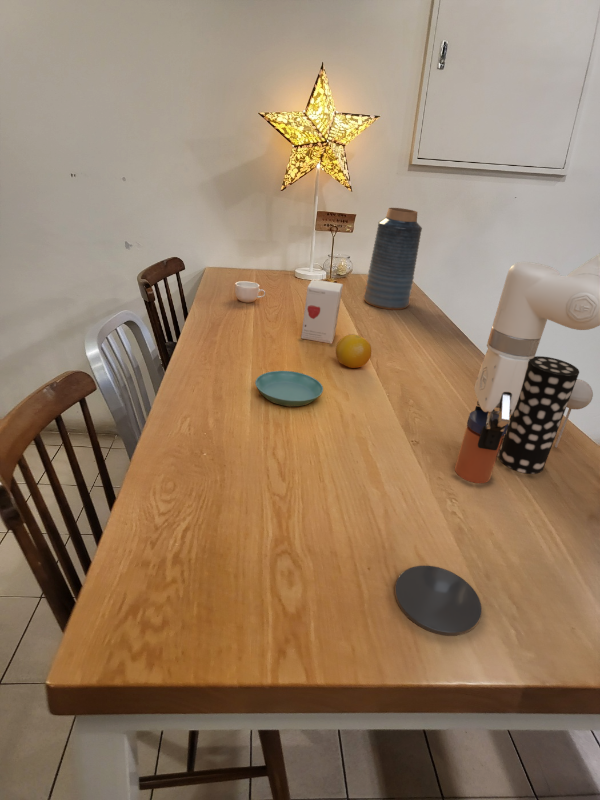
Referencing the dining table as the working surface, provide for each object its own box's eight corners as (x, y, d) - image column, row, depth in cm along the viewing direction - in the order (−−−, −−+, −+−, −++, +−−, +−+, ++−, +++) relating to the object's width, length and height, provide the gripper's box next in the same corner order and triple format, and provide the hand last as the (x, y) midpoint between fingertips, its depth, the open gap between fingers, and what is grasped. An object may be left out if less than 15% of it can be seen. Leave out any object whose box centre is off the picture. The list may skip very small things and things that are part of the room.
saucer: (294, 419, 108) (295, 407, 107) (240, 393, 116) (240, 382, 115) (334, 397, 119) (336, 386, 118) (283, 375, 127) (284, 365, 126)
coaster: (472, 576, 74) (473, 572, 74) (488, 643, 64) (489, 639, 64) (393, 562, 75) (394, 559, 75) (396, 626, 65) (397, 623, 65)
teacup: (231, 302, 173) (232, 285, 171) (237, 295, 180) (238, 279, 177) (262, 306, 172) (263, 290, 170) (266, 300, 179) (268, 284, 177)
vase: (402, 298, 199) (420, 209, 185) (413, 312, 185) (434, 216, 170) (359, 294, 197) (374, 204, 183) (367, 308, 183) (383, 211, 169)
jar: (484, 464, 101) (499, 416, 96) (495, 484, 95) (511, 435, 90) (450, 461, 100) (464, 413, 96) (459, 481, 95) (474, 431, 90)
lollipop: (541, 436, 113) (564, 371, 107) (571, 445, 111) (597, 379, 104) (539, 449, 108) (564, 381, 101) (570, 458, 106) (597, 390, 99)
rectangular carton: (300, 339, 150) (306, 286, 143) (305, 328, 158) (311, 278, 151) (332, 344, 149) (339, 291, 142) (336, 333, 157) (343, 283, 150)
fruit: (353, 357, 142) (358, 328, 138) (374, 369, 136) (380, 339, 133) (327, 362, 137) (331, 332, 133) (348, 374, 131) (353, 344, 128)
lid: (459, 423, 94) (461, 415, 93) (481, 414, 97) (483, 407, 97) (491, 440, 89) (493, 432, 89) (513, 431, 93) (515, 423, 92)
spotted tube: (498, 445, 108) (528, 352, 99) (542, 456, 106) (576, 362, 97) (497, 466, 101) (529, 368, 92) (544, 478, 98) (582, 379, 90)
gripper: (480, 321, 94) (455, 411, 102) (500, 358, 79) (469, 460, 87) (523, 328, 94) (494, 417, 102) (552, 366, 78) (516, 468, 86)
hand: (483, 436), depth 94 cm, fingers closed on lid, 6 cm apart
